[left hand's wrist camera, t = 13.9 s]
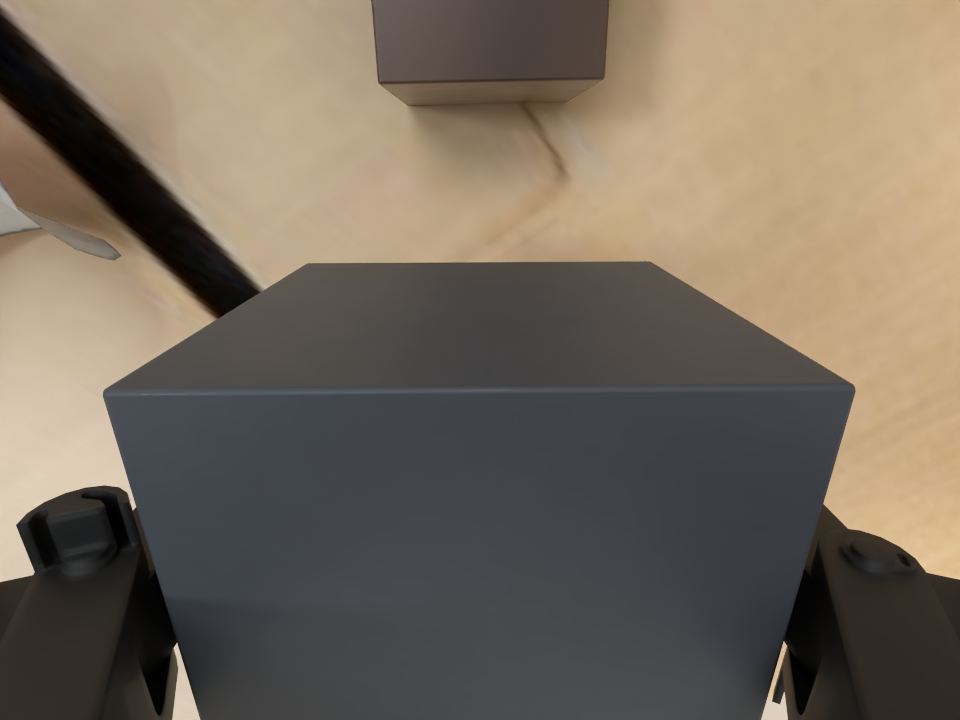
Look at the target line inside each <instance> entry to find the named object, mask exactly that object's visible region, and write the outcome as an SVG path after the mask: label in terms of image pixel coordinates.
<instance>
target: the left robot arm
mask: <svg viewBox="0 0 960 720" xmlns="http://www.w3.org/2000/svg"><path fill="white" fill-rule="evenodd" d="M16 526H17V528H18V531H19V533H20V536H21V538H22V541H23V543H24V546H25V548H26V551H27V553H28V556H29V558H30V561H31V563H32V566H33V568H34V571H35V573H34V575H32V576H28V577H23V578H18V579H14V580H9V581H4V582H0V720H172V716H173V707H174V699H175V690H176V682H177V673H178V666H177V659H176V655H175V652H174V649H173V648H174V646H175V645H176V643H177V640H176V636H175V633H174V630H173V626H172V623H171V620H170V616H169V613H168V610H167V606H166V603H165V600H164V597H163V593H162V590H161V587H160V583H159V580H158V577H157V573H156V570H155V567H154V563H153V560H152V557H151V553H150V550H149V547H148V543H147V540H146V537H145V533H144V530H143V527H142V524H141V520H140V517H139V514H138V510H137V507H136V508H135V509H134V510H133V511H132V507H131V504H130V501H129V497H128V494H127V492H125V491H124V490H122V489H121V488H119V487H111V486H97V487H88V488H83V489H80V490H76V491H72V492H69V493H65V494H63V495H60V496H58V497H56V498H53V499H51V500H49V501H47V502H44V503H43V504H41V505H40V506H38V507H36V508H35V509H33V510H32V511H30V512H29V513H27V514H26V515H25V516H24V517H23V518H22V520H21V521H20V522H19V523H18V524H17V525H16ZM784 641H785V643H786V645H787V649H786V652H785V655H784V659H783V662H782V665H781V669H780V672H779V676H778V679H777V682H776V686H775V689H774V694H773V700H772V701H773V702H775V703H778V704H780V702H781V699H782V696H783V693H784V692H785V697H786V705H787V714H788V720H960V580H958V579H953V578H948V577H943V576H939V575H934V574H929V573H926V572H925V570H924V569H923V568H922V566H921V565H920V564H919V563H918V561H917V560H916V559H915V558H914V557H912V556H911V555H910V554H908V553H907V552H906V551H904V550H903V549H902V548H900V547H899V546H897V545H895V544H893V543H891V542H889V541H887V540H885V539H883V538H881V537H878V536H875V535H872V534H869V533H866V532H863V531H859V530H851V529H847V528H846V527H845V526H844V525H843V524H842V523H841V522H840V520H839V519H838V518H837V517H836V516H835V515H834V514H833V513H832V512H831V511H830V510H829V509H828V508H827V507H826V506H825V505H824V504H823V506H822V509H821V513H820V516H819V520H818V523H817V527H816V530H815V533H814V537H813V540H812V544H811V547H810V551H809V554H808V558H807V561H806V565H805V568H804V572H803V575H802V579H801V582H800V586H799V589H798V592H797V596H796V599H795V603H794V606H793V610H792V613H791V617H790V620H789V624H788V627H787V631H786V634H785V638H784Z"/></svg>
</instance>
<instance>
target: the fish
mask: <svg viewBox="0 0 960 720" xmlns="http://www.w3.org/2000/svg"><path fill="white" fill-rule="evenodd" d="M41 228H43V229H44V230H46V231H47V232H49V233H50V234H52V235H54V236H55V237H57V238H58V239H60V240H62V241H63V242H65V243H66V244H68V245H69V246H71V247H73V248H74V249H76V250H79V251H82V252H85V253H89V254H92V255H95V256H98V257H102V258H106V259H110V260H115V259H117V258H118V257H120V256H121V255H120V254H119V253H118V252H117V251H116V250H115V249H114V248H113V247H112V246H111V245H110V244H108V243H107V242H106V241H105V240H103V239H101V238H98V237H95V236H92V235H89V234H86V233H82V232H79V231H77V230H74V229H71V228H69V227H66V226H64V225H62V224H59V223H57V222H55V221H52V220H50V219H47V218H44V217H41V216H38V215H36V214H34V213H31V212H29V211H27V210H25V209H23V208H20V207H18V206H16V205H15V204H14V202H13V201H12V199H11V197H10V195H9V194H8V192H7V190H6V189H5V187H4V185H3V183H2V182H1V180H0V237H1V236H5V235H9V234H13V233H19V232H24V231H30V230H36V229H41Z"/></svg>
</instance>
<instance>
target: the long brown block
mask: <svg viewBox="0 0 960 720" xmlns="http://www.w3.org/2000/svg"><path fill="white" fill-rule="evenodd" d="M371 1H372V13H373V25H374V37H375V49H376V62H377V74H378V82H379V84H380V85H381V86H383V87H384V88H385V89H387V90H388V91H389V92H391V93H392V94H393V95H395V96H396V97H397V98H398V99H400V100H401V101H402V102H404V103H405V104H406V105H451V104H497V103H542V102H567V101H569V100H570V99H572V98H573V97H575V96H577V95H578V94H580V93H582V92H583V91H585V90H587V89H588V88H590V87H591V86H593V85H595V84H596V83H598V82H600V81H601V80H603V79H604V77H605V63H606V47H607V30H608V13H609V0H371Z"/></svg>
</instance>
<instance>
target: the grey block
mask: <svg viewBox="0 0 960 720" xmlns="http://www.w3.org/2000/svg"><path fill="white" fill-rule="evenodd" d="M854 395H855V387H854V385H853V384H851V383H850V382H848V381H846V380H845V379H843V378H841V377H840V376H838V375H836V374H835V373H833V372H832V371H830V370H828V369H827V368H825V367H823V366H822V365H820V364H818V363H817V362H815V361H813V360H812V359H810V358H808V357H807V356H805V355H803V354H802V353H800V352H798V351H797V350H795V349H794V348H792V347H790V346H789V345H787V344H785V343H784V342H782V341H780V340H779V339H777V338H775V337H774V336H772V335H770V334H769V333H767V332H765V331H764V330H762V329H761V328H759V327H757V326H756V325H754V324H752V323H751V322H749V321H747V320H746V319H744V318H742V317H741V316H739V315H737V314H736V313H734V312H732V311H731V310H729V309H727V308H726V307H724V306H723V305H721V304H719V303H718V302H716V301H714V300H713V299H711V298H709V297H708V296H706V295H704V294H703V293H701V292H699V291H698V290H696V289H694V288H693V287H691V286H689V285H688V284H686V283H685V282H683V281H681V280H680V279H678V278H676V277H675V276H673V275H671V274H670V273H668V272H666V271H665V270H663V269H661V268H660V267H658V266H656V265H655V264H653V263H651V262H489V263H312V264H306V265H304V266H303V267H301V268H299V269H298V270H296V271H295V272H293V273H291V274H290V275H288V276H286V277H285V278H283V279H282V280H280V281H278V282H277V283H275V284H274V285H272V286H270V287H269V288H267V289H266V290H264V291H262V292H261V293H259V294H258V295H256V296H254V297H253V298H251V299H249V300H248V301H246V302H245V303H243V304H241V305H240V306H238V307H237V308H235V309H233V310H232V311H230V312H229V313H227V314H225V315H224V316H222V317H220V318H219V319H217V320H216V321H214V322H212V323H211V324H209V325H208V326H206V327H204V328H203V329H201V330H200V331H198V332H196V333H195V334H193V335H191V336H190V337H188V338H187V339H185V340H183V341H182V342H180V343H179V344H177V345H175V346H174V347H172V348H171V349H169V350H167V351H166V352H164V353H163V354H161V355H159V356H158V357H156V358H154V359H153V360H151V361H150V362H148V363H146V364H145V365H143V366H142V367H140V368H138V369H137V370H135V371H134V372H132V373H130V374H129V375H127V376H125V377H124V378H122V379H121V380H119V381H117V382H116V383H114V384H113V385H111V386H109V387H108V388H106V389H105V390H104V392H103V397H104V401H105V404H106V407H107V411H108V414H109V417H110V421H111V424H112V427H113V431H114V434H115V437H116V441H117V444H118V447H119V451H120V454H121V457H122V461H123V464H124V467H125V470H126V474H127V477H128V480H129V484H130V487H131V490H132V494H133V497H134V500H135V504H136V507H137V510H138V514H139V517H140V520H141V524H142V527H143V530H144V533H145V537H146V540H147V543H148V547H149V550H150V553H151V557H152V560H153V563H154V567H155V570H156V573H157V577H158V580H159V583H160V587H161V590H162V593H163V597H164V600H165V603H166V606H167V610H168V613H169V616H170V620H171V623H172V626H173V630H174V633H175V636H176V640H177V643H178V646H179V650H180V653H181V656H182V660H183V663H184V666H185V669H186V673H187V676H188V679H189V683H190V686H191V689H192V693H193V696H194V699H195V703H196V706H197V709H198V713H199V716H200V719H201V720H761V717H762V714H763V710H764V707H765V703H766V700H767V697H768V693H769V690H770V686H771V683H772V679H773V676H774V672H775V669H776V665H777V662H778V658H779V655H780V651H781V648H782V645H783V641H784V638H785V634H786V631H787V627H788V624H789V620H790V617H791V613H792V610H793V606H794V603H795V599H796V596H797V592H798V589H799V586H800V582H801V579H802V575H803V572H804V568H805V565H806V561H807V558H808V554H809V551H810V547H811V544H812V540H813V537H814V533H815V530H816V527H817V523H818V520H819V516H820V513H821V509H822V506H823V502H824V499H825V495H826V492H827V488H828V485H829V481H830V478H831V474H832V471H833V468H834V464H835V461H836V457H837V454H838V450H839V447H840V443H841V440H842V436H843V433H844V429H845V426H846V422H847V419H848V415H849V412H850V409H851V405H852V402H853V398H854Z"/></svg>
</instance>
